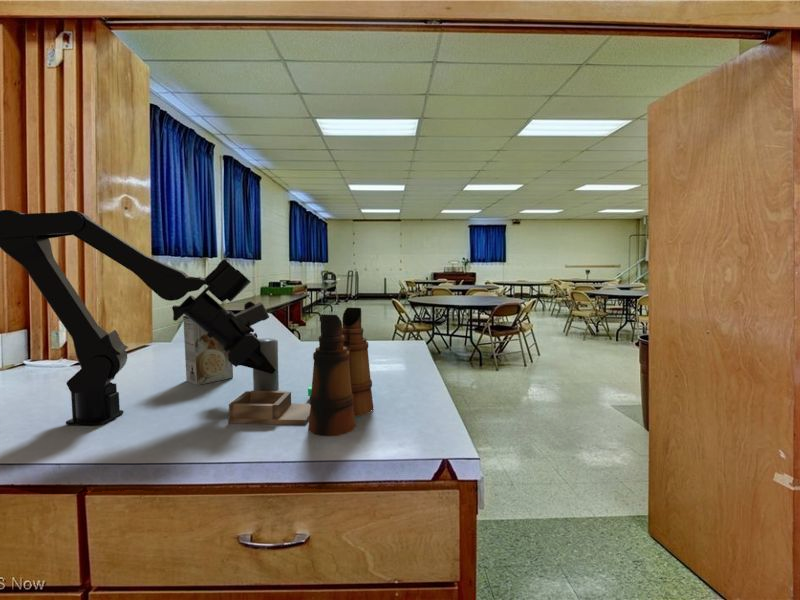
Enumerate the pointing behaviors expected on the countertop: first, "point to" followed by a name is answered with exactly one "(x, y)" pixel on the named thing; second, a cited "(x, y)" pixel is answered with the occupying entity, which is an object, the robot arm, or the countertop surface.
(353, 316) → the binoculars
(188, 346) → the coffee box
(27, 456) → the countertop surface
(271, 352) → the grey round-topped cylinder
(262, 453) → the countertop surface
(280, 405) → the brown square-cornered frame
